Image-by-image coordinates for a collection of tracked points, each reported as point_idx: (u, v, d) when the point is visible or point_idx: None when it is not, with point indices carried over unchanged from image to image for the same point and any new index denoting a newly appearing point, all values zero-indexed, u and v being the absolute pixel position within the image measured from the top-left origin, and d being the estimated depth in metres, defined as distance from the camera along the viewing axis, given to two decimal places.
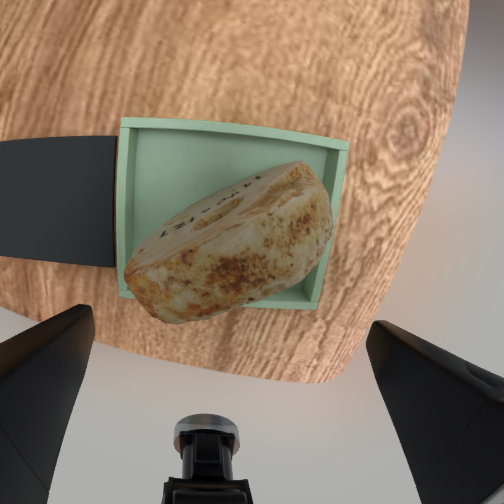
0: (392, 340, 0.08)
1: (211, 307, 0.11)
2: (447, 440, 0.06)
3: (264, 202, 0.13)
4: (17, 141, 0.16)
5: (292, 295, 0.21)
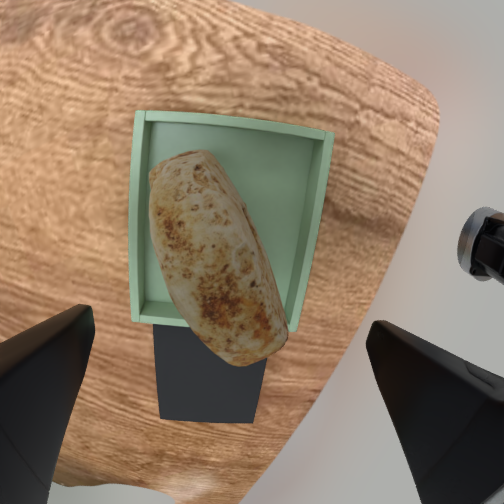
0: (392, 340, 0.08)
1: (258, 320, 0.11)
2: (447, 440, 0.06)
3: None
4: (158, 392, 0.25)
5: (317, 157, 0.18)
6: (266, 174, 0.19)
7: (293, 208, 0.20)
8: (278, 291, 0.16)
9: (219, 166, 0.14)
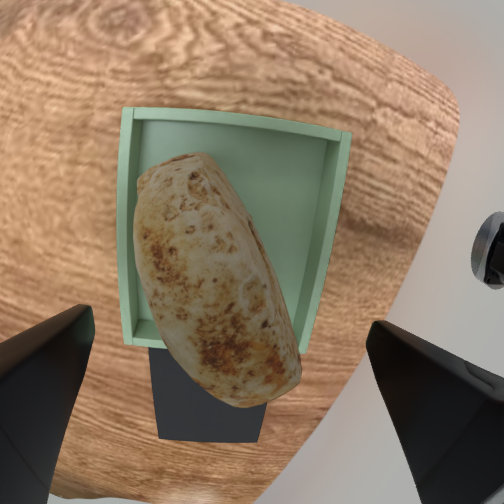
0: (392, 340, 0.08)
1: (271, 364, 0.09)
2: (447, 440, 0.06)
3: None
4: (156, 413, 0.22)
5: (331, 160, 0.15)
6: (273, 179, 0.17)
7: (303, 218, 0.18)
8: None
9: (220, 172, 0.12)
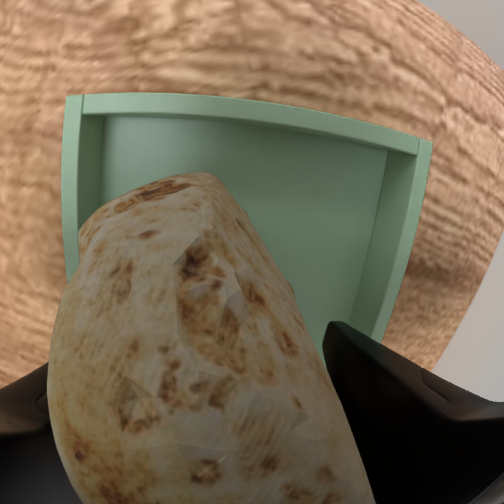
0: (344, 342, 0.08)
1: None
2: (398, 456, 0.05)
3: None
4: None
5: (398, 182, 0.10)
6: (309, 209, 0.11)
7: (349, 264, 0.12)
8: None
9: (243, 218, 0.06)
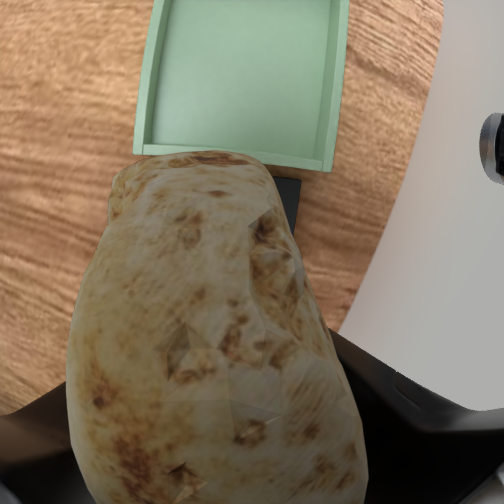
0: None
1: None
2: (369, 463, 0.05)
3: None
4: None
5: None
6: (288, 14, 0.15)
7: (316, 46, 0.16)
8: None
9: None
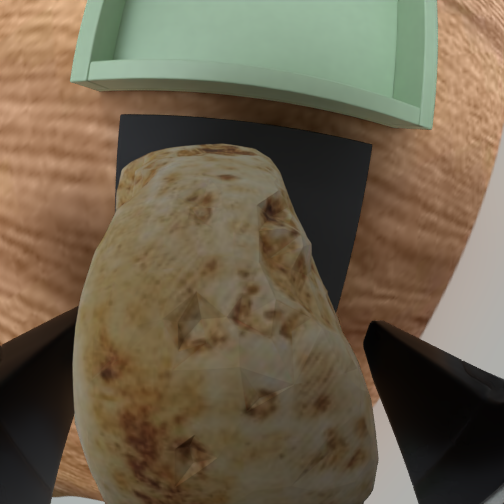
0: (389, 340, 0.08)
1: None
2: (444, 441, 0.06)
3: None
4: None
5: None
6: None
7: None
8: None
9: None
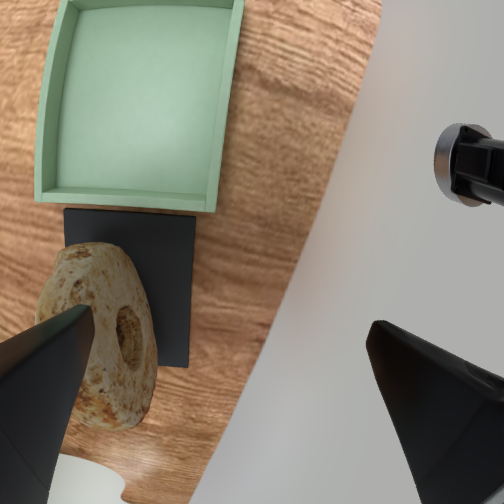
0: (392, 340, 0.08)
1: (106, 413, 0.12)
2: (447, 440, 0.06)
3: None
4: None
5: None
6: (181, 41, 0.15)
7: (210, 72, 0.16)
8: (150, 375, 0.17)
9: (109, 268, 0.15)
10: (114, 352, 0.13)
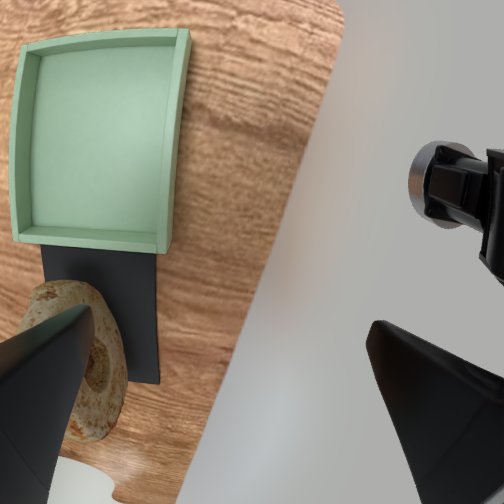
0: (392, 340, 0.08)
1: (73, 428, 0.13)
2: (447, 440, 0.06)
3: None
4: None
5: None
6: (132, 84, 0.16)
7: (160, 115, 0.17)
8: (117, 394, 0.18)
9: None
10: None
